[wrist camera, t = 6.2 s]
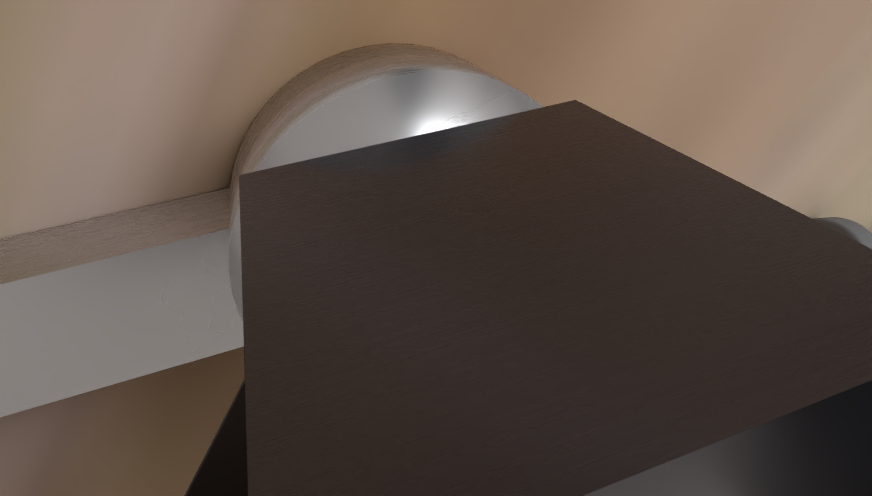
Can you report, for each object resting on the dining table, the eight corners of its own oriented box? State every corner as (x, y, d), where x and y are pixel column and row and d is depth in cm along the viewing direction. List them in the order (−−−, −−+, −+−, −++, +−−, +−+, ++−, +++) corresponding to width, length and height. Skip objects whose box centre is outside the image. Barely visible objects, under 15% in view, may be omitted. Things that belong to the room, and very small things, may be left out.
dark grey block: (575, 99, 9) (1017, 321, 4) (565, 342, 12) (807, 641, 7) (238, 174, 8) (253, 629, 3) (322, 422, 10) (403, 852, 6)
